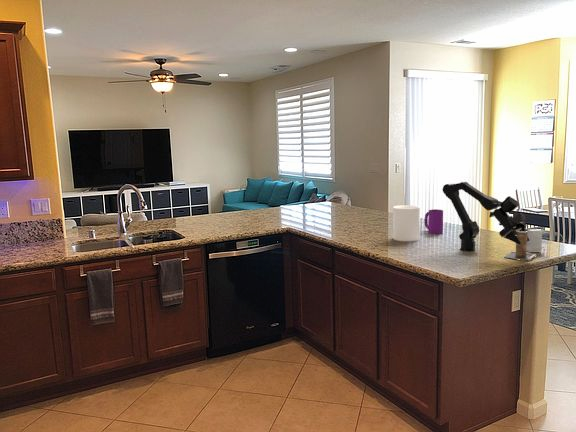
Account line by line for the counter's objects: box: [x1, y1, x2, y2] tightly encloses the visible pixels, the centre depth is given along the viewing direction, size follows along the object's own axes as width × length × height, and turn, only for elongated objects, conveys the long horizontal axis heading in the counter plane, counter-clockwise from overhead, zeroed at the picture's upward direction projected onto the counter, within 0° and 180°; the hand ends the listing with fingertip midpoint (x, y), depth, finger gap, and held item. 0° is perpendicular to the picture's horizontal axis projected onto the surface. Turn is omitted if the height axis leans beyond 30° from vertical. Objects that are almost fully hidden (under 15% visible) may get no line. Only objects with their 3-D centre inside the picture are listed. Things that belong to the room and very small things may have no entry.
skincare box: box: [526, 228, 543, 253], centre depth 252 cm, size 6×4×12 cm
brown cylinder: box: [515, 230, 528, 258], centre depth 239 cm, size 5×5×13 cm
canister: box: [392, 204, 421, 242], centre depth 295 cm, size 16×16×20 cm
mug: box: [424, 208, 444, 235], centre depth 313 cm, size 9×16×15 cm, turn 22°
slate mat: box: [503, 250, 537, 262], centre depth 242 cm, size 12×12×1 cm
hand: (524, 242), depth 238 cm, fingers open, 9 cm apart
